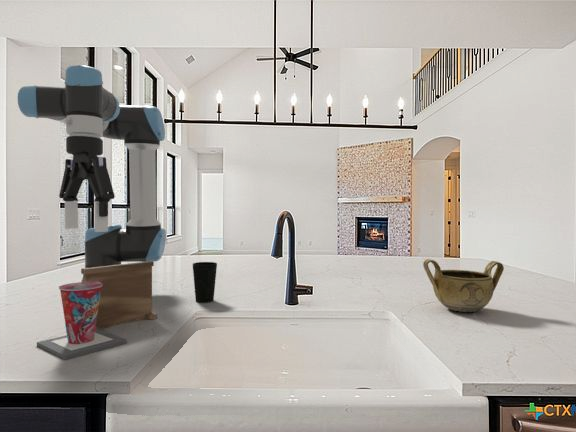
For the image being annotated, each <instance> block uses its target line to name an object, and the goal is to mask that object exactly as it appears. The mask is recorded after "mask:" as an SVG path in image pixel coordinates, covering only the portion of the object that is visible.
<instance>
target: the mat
mask: <svg viewBox="0 0 576 432" xmlns="http://www.w3.org/2000/svg"><path fill="white" fill-rule="evenodd" d="M127 340H128V339H126V338H124V337H121V336H118V335H117V334H116V335H115V334H113V333H110V332H108V331H104V330H102V329H95V337H94V340H93V341H91V342H88V343H84V344H70V343H68V339H67V334H66V335H62V336H57V337H52V338H48V339H45V340H40V341H37V342H36V347H38V348H40V349H42V350H44V351H46V352H49V353H51V354H53V355H55V356H57V357H58V358H61V359H63V360H69V359H73V358H76V357H77V358H78V357H80V356H84V355H88V354H91V353H92V354H93V353H95V352H98V351H102V350H107V349H109V348H110V349H111V348H113V347H116V346H120V345H124V344H127Z"/></svg>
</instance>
